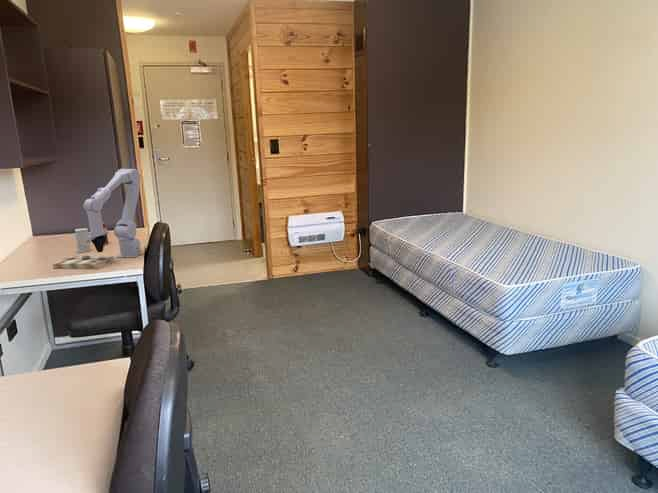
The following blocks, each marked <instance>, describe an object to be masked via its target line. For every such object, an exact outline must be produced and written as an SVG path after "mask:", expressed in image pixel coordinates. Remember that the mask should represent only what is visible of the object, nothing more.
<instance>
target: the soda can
mask: <svg viewBox="0 0 658 493" xmlns="http://www.w3.org/2000/svg"><path fill="white" fill-rule="evenodd" d="M102 224H103V230H108V229H107V225H106V223H105V222H102ZM103 236H106V239H105V242H104V246H106V245H108V244H109V237H108V236H109V235H108V234H105V235H103Z"/></svg>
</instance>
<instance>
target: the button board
mask: <svg viewBox="0 0 658 493" xmlns="http://www.w3.org/2000/svg"><path fill="white" fill-rule="evenodd" d="M83 256H84V255H82V256H81V255H79V256H78V255H76V256H75V255H70V256H67V257H66V258H65V257H64V258H63V259H60V260H58V261H55V262H53V263H52V269H56V270H57V269H60V270H61V269H63V270H67V269H74V270H99V269H101V268H103V267H105V266H108V265H110V264H112V263H114V262H115V260H114V256H101V255H100V256H98V255H97V256H95V255H94V256H93V255H88V256H89V257H90V259H88V260H82V257H83ZM72 257H74V258H75V259H73V260H67V259H68V258H72ZM99 258H105V259H104V260H98V259H99Z"/></svg>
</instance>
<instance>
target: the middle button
mask: <svg viewBox="0 0 658 493" xmlns="http://www.w3.org/2000/svg"><path fill="white" fill-rule="evenodd" d="M82 256H83V257H82V260H88V259H90V257H89V256H90V255H82Z"/></svg>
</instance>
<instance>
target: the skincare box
mask: <svg viewBox="0 0 658 493" xmlns="http://www.w3.org/2000/svg"><path fill="white" fill-rule="evenodd" d="M74 231H75V233H74V234H75V239H76V240H75V241H76V247H77V252H78V253H81V254H82V253H87V252H92V249H91V248H92V247H91V241H86V237H87V236H88V235H89V233H90V231H89V229H88V227H85V228H76V229H74Z"/></svg>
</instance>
